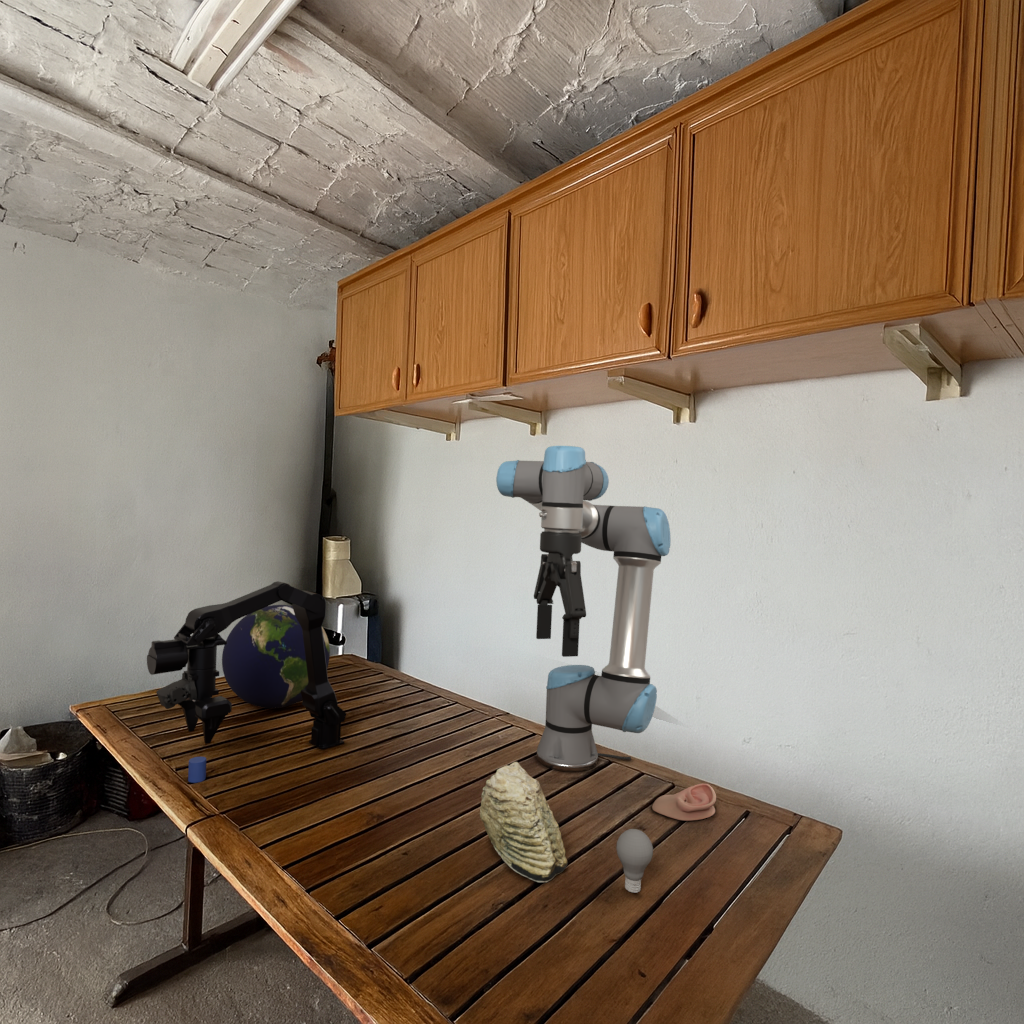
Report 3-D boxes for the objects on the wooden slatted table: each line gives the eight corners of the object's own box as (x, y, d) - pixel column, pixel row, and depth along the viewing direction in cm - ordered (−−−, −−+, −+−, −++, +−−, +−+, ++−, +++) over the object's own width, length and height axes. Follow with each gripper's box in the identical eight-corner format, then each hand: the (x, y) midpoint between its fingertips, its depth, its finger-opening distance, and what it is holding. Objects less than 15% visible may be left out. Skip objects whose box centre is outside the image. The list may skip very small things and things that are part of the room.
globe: (289, 685, 209) (292, 594, 208) (348, 705, 191) (352, 606, 191) (199, 706, 185) (203, 604, 184) (258, 732, 167) (262, 619, 167)
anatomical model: (653, 797, 131) (652, 774, 142) (652, 816, 131) (651, 792, 142) (720, 806, 128) (714, 782, 140) (719, 826, 128) (713, 800, 140)
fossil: (501, 827, 124) (504, 751, 124) (575, 868, 111) (578, 784, 111) (467, 843, 118) (470, 763, 118) (541, 889, 105) (545, 799, 105)
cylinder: (184, 782, 138) (185, 762, 138) (194, 775, 141) (195, 755, 141) (199, 783, 137) (200, 763, 137) (209, 776, 141) (209, 757, 141)
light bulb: (610, 879, 108) (613, 822, 108) (644, 879, 109) (647, 822, 109) (619, 902, 102) (622, 840, 102) (655, 901, 103) (658, 840, 103)
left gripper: (147, 663, 139) (144, 734, 140) (178, 683, 127) (175, 760, 127) (199, 656, 148) (197, 722, 148) (234, 673, 135) (231, 746, 135)
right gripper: (520, 526, 126) (516, 632, 127) (567, 535, 102) (561, 665, 103) (556, 527, 129) (551, 631, 129) (609, 536, 105) (603, 663, 105)
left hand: (199, 737), depth 139 cm, fingers open, 9 cm apart
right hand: (555, 647), depth 116 cm, fingers open, 13 cm apart
